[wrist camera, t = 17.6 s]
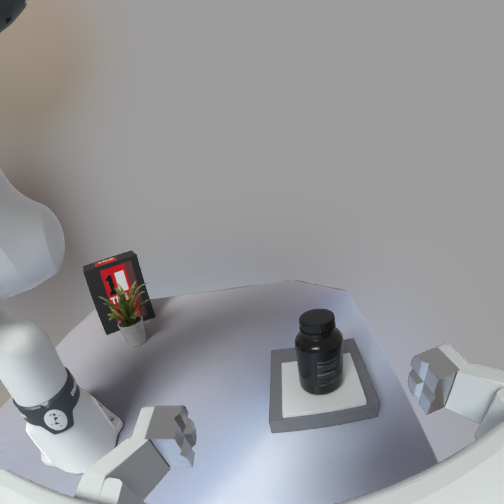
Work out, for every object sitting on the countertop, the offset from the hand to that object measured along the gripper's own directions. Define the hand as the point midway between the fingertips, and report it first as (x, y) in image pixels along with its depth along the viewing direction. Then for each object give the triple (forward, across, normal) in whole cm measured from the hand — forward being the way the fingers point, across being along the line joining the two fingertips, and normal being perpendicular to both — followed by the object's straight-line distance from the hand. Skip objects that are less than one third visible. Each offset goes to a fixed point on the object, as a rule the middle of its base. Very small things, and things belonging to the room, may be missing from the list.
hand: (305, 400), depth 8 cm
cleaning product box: (+67, +43, +28) cm, 84 cm away
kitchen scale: (+28, -6, +28) cm, 40 cm away
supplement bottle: (+25, -6, +24) cm, 36 cm away
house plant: (+54, +33, +28) cm, 69 cm away
